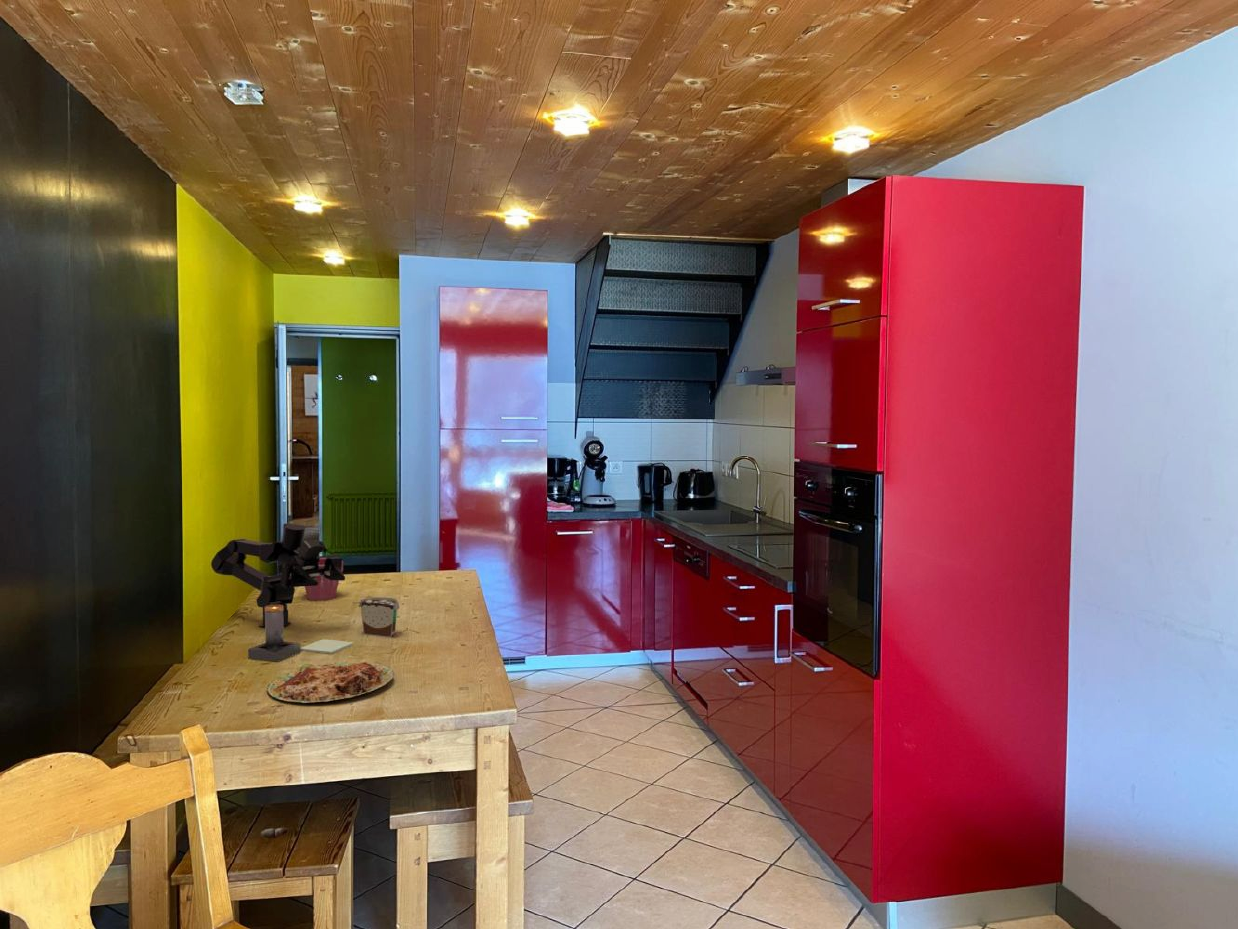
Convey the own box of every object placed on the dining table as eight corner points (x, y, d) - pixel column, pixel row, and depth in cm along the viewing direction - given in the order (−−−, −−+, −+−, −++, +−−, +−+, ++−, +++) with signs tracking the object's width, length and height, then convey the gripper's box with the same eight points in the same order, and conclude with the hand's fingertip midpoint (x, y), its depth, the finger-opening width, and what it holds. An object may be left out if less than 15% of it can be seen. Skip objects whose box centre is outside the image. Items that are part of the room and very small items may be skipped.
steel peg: (261, 657, 221) (260, 607, 220) (273, 652, 225) (272, 603, 225) (276, 658, 220) (275, 608, 219) (287, 654, 224) (287, 605, 223)
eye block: (248, 658, 220) (248, 649, 219) (272, 649, 228) (272, 640, 228) (277, 661, 217) (277, 652, 217) (300, 652, 226) (300, 643, 225)
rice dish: (268, 718, 181) (268, 694, 180) (265, 676, 206) (265, 654, 205) (403, 702, 192) (403, 679, 191) (384, 664, 217) (384, 643, 217)
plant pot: (352, 597, 294) (352, 560, 293) (318, 604, 282) (317, 566, 282) (324, 592, 302) (324, 556, 301) (290, 599, 290) (290, 561, 289)
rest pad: (299, 650, 227) (299, 648, 227) (322, 641, 237) (322, 639, 237) (331, 654, 224) (331, 651, 224) (354, 644, 234) (354, 642, 234)
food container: (408, 633, 247) (408, 599, 246) (395, 638, 241) (395, 603, 241) (371, 629, 251) (371, 595, 250) (359, 634, 245) (358, 599, 245)
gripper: (271, 540, 238) (307, 558, 230) (327, 533, 253) (361, 549, 245) (266, 577, 240) (301, 597, 232) (321, 568, 255) (356, 586, 247)
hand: (331, 581), depth 239 cm, fingers open, 9 cm apart
